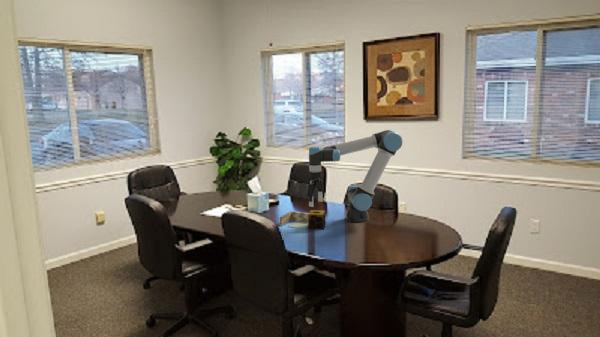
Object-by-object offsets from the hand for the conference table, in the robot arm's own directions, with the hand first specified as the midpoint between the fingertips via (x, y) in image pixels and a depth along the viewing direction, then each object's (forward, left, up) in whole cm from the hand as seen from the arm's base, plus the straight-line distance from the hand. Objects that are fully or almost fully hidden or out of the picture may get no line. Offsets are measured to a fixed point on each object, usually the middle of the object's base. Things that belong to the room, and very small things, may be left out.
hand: (315, 204), depth 289 cm
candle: (0, 0, -16) cm, 16 cm away
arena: (+14, -2, -15) cm, 21 cm away
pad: (+12, 0, -15) cm, 19 cm away
